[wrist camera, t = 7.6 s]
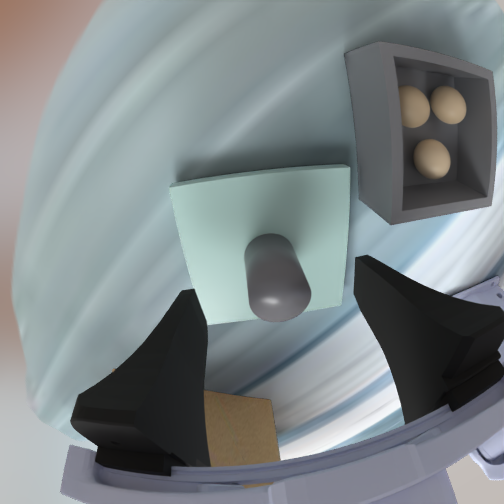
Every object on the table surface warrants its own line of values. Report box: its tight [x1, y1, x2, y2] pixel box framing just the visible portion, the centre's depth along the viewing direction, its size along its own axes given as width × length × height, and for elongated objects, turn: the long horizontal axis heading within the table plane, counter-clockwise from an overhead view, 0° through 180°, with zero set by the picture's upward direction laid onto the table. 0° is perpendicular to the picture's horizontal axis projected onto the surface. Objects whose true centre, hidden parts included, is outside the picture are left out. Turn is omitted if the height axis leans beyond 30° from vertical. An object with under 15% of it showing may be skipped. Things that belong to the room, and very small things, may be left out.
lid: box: [169, 164, 350, 325], centre depth 13 cm, size 9×9×5 cm
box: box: [344, 41, 497, 225], centre depth 10 cm, size 8×8×4 cm
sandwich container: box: [112, 369, 281, 488], centre depth 17 cm, size 9×15×15 cm, turn 69°
